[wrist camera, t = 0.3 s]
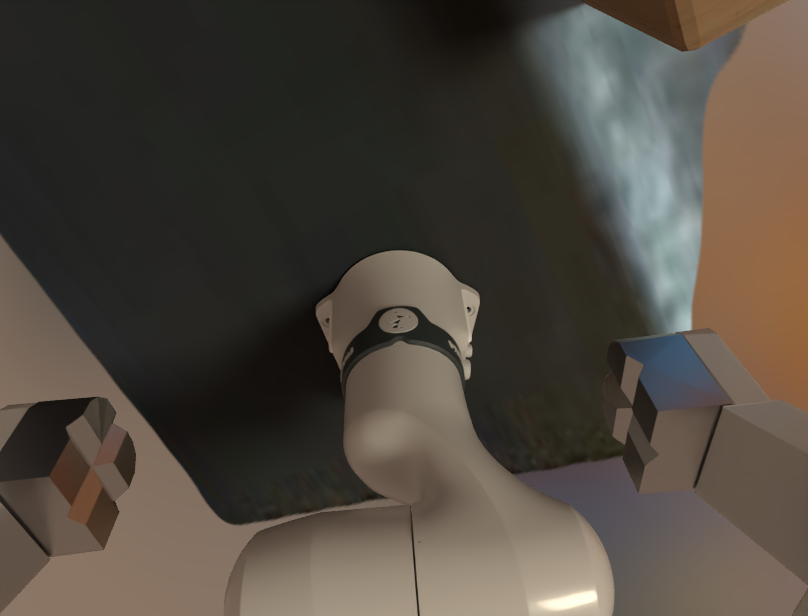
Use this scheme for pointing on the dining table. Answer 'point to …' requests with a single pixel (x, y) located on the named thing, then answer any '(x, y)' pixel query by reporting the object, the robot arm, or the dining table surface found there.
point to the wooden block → (685, 17)
